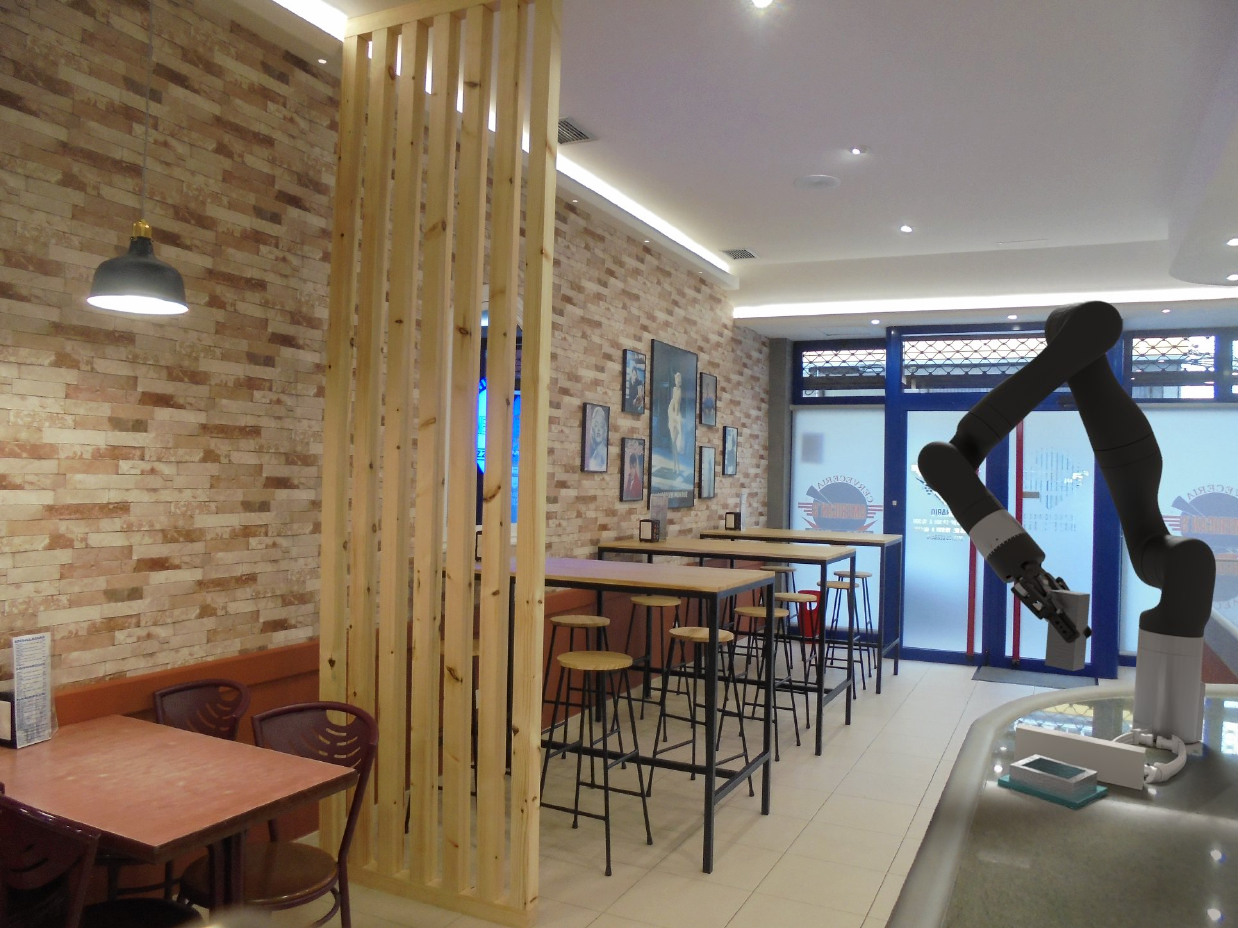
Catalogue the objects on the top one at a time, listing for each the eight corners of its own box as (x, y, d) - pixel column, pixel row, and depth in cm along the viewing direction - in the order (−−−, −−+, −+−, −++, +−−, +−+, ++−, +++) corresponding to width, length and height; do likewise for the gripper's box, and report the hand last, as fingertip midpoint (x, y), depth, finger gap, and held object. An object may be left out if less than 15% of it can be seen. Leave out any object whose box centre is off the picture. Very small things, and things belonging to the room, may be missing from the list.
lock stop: (1056, 662, 134) (1062, 589, 134) (1084, 668, 131) (1090, 593, 131) (1044, 664, 132) (1050, 590, 132) (1073, 670, 129) (1078, 594, 129)
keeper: (1030, 770, 125) (1031, 750, 125) (1107, 793, 117) (1108, 772, 117) (997, 784, 118) (999, 763, 118) (1076, 809, 111) (1078, 787, 111)
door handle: (1195, 754, 141) (1171, 791, 121) (1124, 738, 147) (1091, 772, 127) (1196, 737, 141) (1173, 772, 121) (1125, 722, 147) (1092, 753, 127)
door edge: (1013, 761, 128) (1016, 727, 128) (1017, 756, 131) (1019, 722, 131) (1142, 790, 120) (1144, 752, 120) (1143, 784, 122) (1145, 747, 122)
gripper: (1002, 530, 132) (1081, 627, 123) (1044, 530, 142) (1121, 621, 133) (965, 561, 136) (1040, 657, 127) (1009, 559, 146) (1081, 649, 137)
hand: (1080, 638), depth 130 cm, fingers closed on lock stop, 4 cm apart
